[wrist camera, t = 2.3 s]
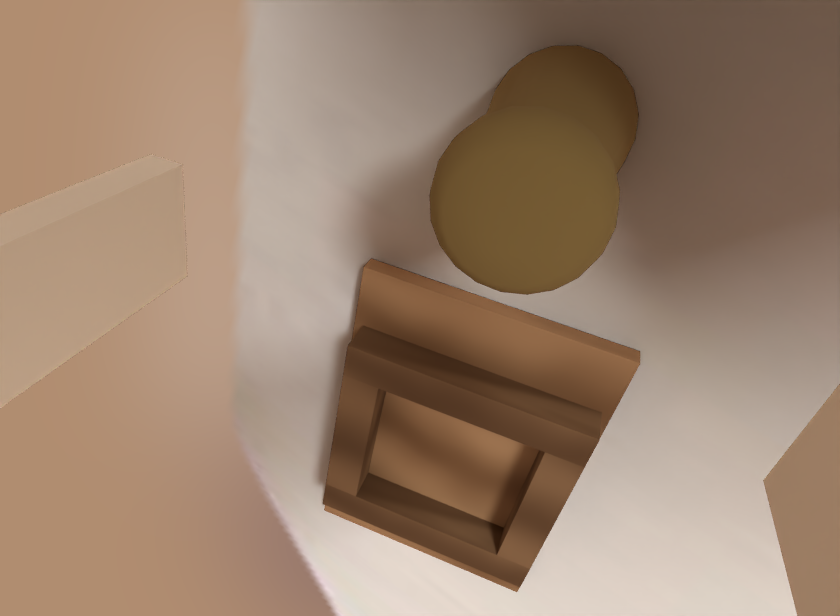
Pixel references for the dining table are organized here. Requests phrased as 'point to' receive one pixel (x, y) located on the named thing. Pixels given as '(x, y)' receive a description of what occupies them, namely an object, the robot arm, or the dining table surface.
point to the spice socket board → (495, 349)
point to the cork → (537, 173)
